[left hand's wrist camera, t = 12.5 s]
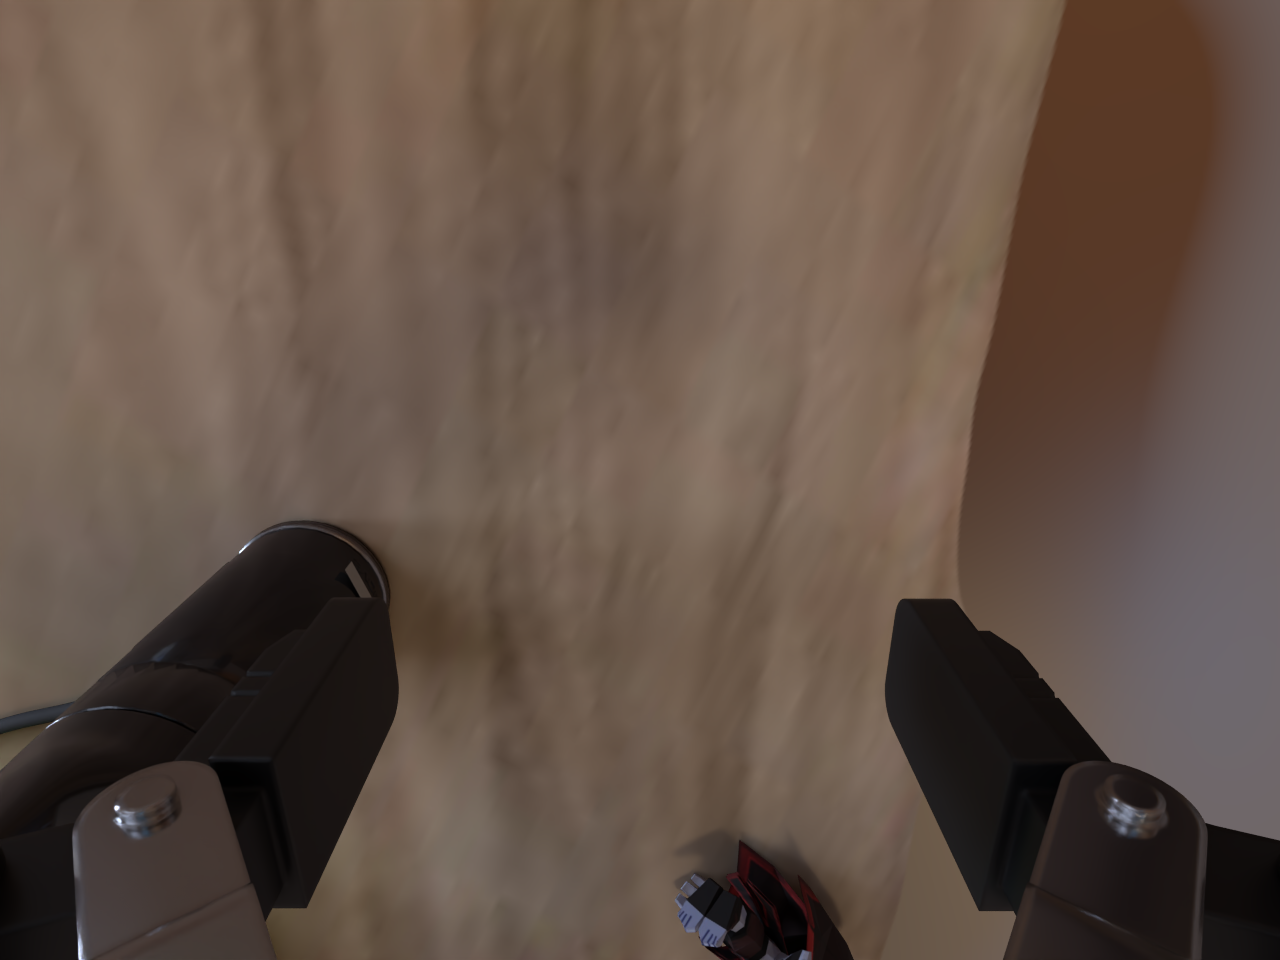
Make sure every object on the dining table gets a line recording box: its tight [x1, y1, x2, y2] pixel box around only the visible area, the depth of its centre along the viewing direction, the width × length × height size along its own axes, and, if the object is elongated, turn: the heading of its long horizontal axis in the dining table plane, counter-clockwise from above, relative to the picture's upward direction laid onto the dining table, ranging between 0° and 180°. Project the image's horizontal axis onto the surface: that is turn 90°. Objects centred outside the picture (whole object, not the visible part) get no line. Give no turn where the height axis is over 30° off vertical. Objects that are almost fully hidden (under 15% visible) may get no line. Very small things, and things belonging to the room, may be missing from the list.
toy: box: [675, 841, 854, 960], centre depth 52 cm, size 12×9×15 cm
